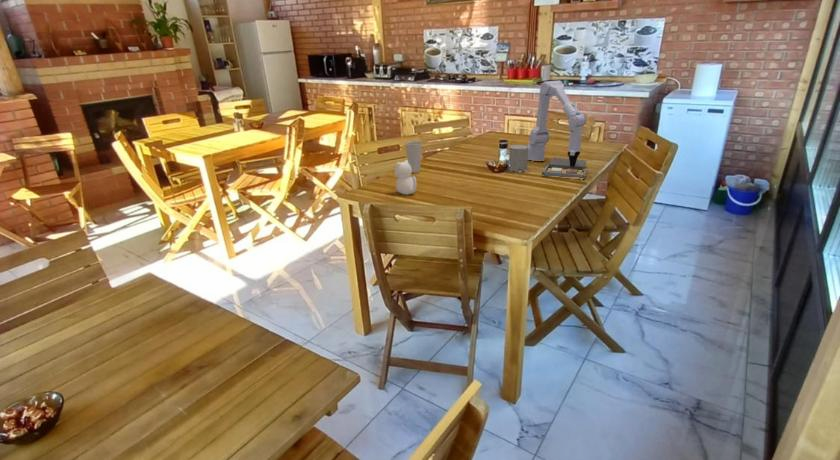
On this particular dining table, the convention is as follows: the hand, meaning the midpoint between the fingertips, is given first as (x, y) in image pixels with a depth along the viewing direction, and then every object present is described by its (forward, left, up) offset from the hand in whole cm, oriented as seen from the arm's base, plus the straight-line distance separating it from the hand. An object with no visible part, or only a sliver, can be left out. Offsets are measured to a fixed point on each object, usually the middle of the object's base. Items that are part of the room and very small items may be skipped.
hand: (572, 166), depth 227 cm
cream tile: (-7, -4, -1) cm, 8 cm away
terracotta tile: (0, -3, -1) cm, 4 cm away
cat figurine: (-66, -56, -4) cm, 86 cm away
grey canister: (-27, -2, -4) cm, 27 cm away
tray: (-3, -4, -4) cm, 6 cm away
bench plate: (-4, +10, -4) cm, 11 cm away
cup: (-78, -23, -4) cm, 81 cm away
